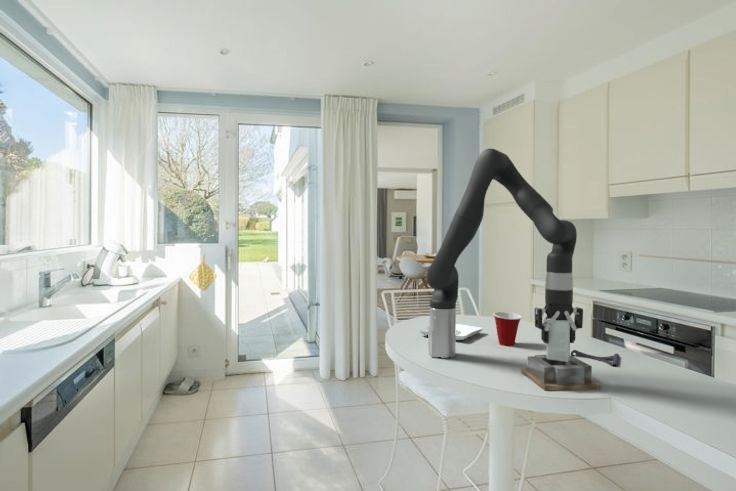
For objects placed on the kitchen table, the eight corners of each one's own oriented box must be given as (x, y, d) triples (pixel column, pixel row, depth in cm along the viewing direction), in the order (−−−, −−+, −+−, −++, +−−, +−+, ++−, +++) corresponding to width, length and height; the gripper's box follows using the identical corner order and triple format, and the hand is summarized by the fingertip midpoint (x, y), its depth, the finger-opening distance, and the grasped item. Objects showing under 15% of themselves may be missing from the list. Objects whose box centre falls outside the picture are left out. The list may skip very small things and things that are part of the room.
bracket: (573, 352, 162) (573, 345, 162) (619, 358, 154) (619, 350, 154) (568, 362, 150) (568, 354, 150) (617, 369, 142) (617, 361, 142)
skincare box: (570, 359, 130) (570, 319, 129) (568, 362, 126) (568, 321, 126) (548, 355, 133) (549, 316, 133) (545, 359, 129) (546, 319, 129)
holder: (544, 390, 121) (545, 370, 121) (520, 372, 137) (521, 354, 137) (600, 389, 122) (600, 368, 122) (569, 371, 138) (570, 353, 138)
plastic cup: (512, 349, 164) (512, 317, 164) (487, 344, 172) (487, 313, 172) (526, 344, 171) (527, 314, 171) (502, 339, 179) (502, 310, 179)
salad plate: (439, 328, 202) (439, 321, 202) (484, 334, 190) (484, 326, 190) (417, 337, 185) (417, 329, 185) (464, 344, 173) (464, 336, 172)
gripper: (541, 289, 125) (540, 346, 125) (589, 288, 126) (588, 345, 126) (529, 286, 132) (529, 340, 133) (575, 285, 133) (574, 339, 134)
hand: (558, 342), depth 129 cm, fingers closed on skincare box, 7 cm apart
